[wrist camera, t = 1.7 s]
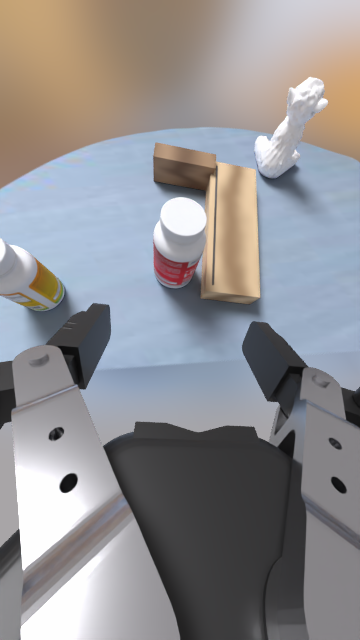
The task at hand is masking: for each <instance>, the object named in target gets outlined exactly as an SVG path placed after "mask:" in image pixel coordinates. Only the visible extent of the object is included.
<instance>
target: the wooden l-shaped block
mask: <svg viewBox="0 0 360 640" xmlns="http://www.w3.org/2000/svg"><path fill="white" fill-rule="evenodd" d="M153 161H154V181H156V182H161V183H167V184H172V185H178V186H183V187H189V188H194V189H200V190H205V191H206V200H205V213H206V217H207V223H206V226H205V234H206V244H205V247H204V250H203V259H202V279H201V298H202V299H210V300H218V301H227V302H235V303H243V304H251V303H253V302H254V301H256V300H257V299H259V298H260V278H259V250H258V222H257V194H256V170H255V169H250V168H245V167H240V166H235V165H230V164H225V163H220V162H216V155H215V154H210V153H205V152H200V151H195V150H190V149H185V148H181V147H176V146H171V145H166V144H161V143H155V149H154V156H153Z"/></svg>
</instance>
